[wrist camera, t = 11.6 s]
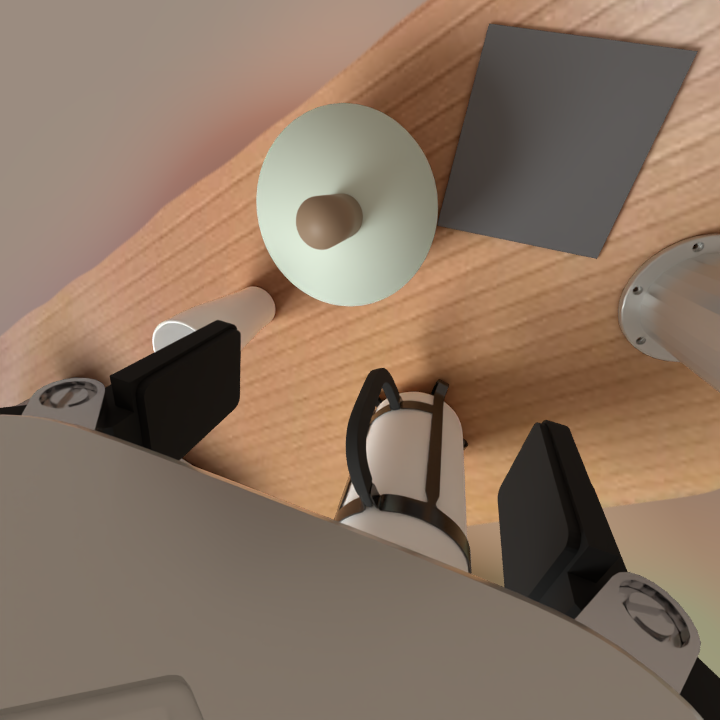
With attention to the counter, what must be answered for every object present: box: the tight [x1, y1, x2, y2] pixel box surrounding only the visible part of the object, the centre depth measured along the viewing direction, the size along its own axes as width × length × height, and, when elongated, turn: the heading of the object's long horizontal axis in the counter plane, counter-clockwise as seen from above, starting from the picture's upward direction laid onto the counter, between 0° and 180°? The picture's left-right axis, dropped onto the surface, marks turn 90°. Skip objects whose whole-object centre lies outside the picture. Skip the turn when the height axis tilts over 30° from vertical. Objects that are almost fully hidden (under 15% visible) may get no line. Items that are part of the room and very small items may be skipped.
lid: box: [257, 103, 438, 306], centre depth 28 cm, size 16×16×7 cm
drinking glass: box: [152, 286, 275, 352], centre depth 40 cm, size 7×7×15 cm
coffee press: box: [334, 368, 471, 574], centre depth 35 cm, size 17×16×30 cm
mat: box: [437, 24, 698, 259], centre depth 32 cm, size 16×16×1 cm
